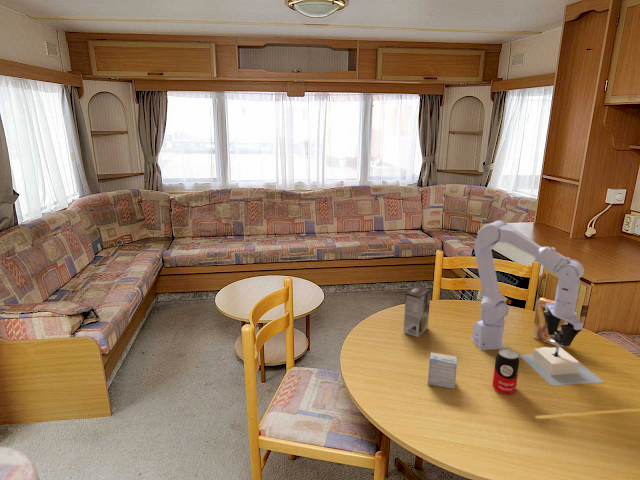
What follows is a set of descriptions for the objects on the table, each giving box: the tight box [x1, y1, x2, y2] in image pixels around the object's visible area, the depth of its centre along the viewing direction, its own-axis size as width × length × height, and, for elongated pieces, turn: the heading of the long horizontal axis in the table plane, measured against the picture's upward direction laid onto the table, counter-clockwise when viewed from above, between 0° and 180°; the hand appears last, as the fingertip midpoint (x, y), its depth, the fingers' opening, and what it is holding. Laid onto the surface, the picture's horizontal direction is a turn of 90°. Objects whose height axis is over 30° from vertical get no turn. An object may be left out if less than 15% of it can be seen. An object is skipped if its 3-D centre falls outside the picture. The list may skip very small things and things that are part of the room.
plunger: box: [549, 330, 565, 356], centre depth 130 cm, size 5×5×8 cm
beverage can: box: [491, 348, 521, 395], centre depth 120 cm, size 6×6×12 cm
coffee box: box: [403, 285, 431, 338], centre depth 155 cm, size 9×6×16 cm
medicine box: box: [427, 352, 458, 390], centre depth 124 cm, size 8×4×9 cm, turn 71°
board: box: [518, 353, 605, 387], centre depth 132 cm, size 17×17×1 cm
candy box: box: [531, 297, 566, 347], centre depth 147 cm, size 9×4×15 cm, turn 44°
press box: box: [533, 346, 580, 375], centre depth 133 cm, size 9×11×4 cm
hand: (558, 339), depth 130 cm, fingers open, 6 cm apart
